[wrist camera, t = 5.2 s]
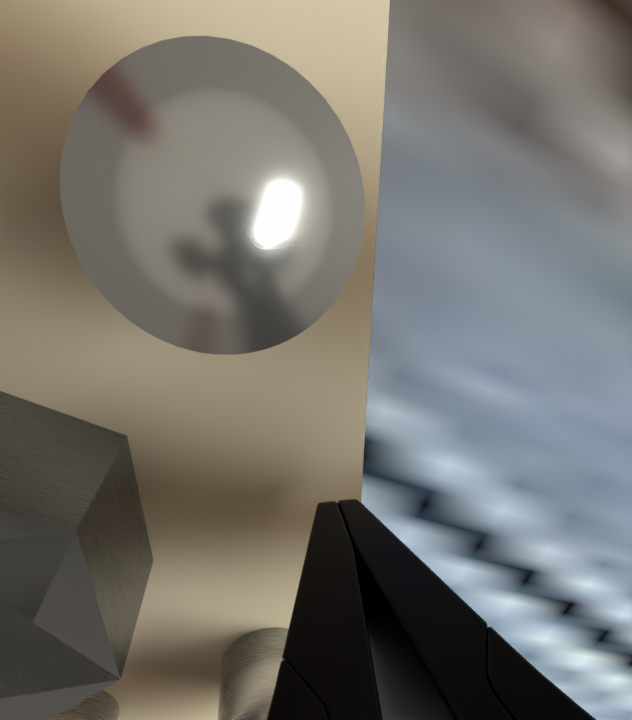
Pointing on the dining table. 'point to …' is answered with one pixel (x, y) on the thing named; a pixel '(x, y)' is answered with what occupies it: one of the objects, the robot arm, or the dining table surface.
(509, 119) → the dining table surface
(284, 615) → the board
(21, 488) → the dark grey hexagonal block
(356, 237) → the steel spacers
